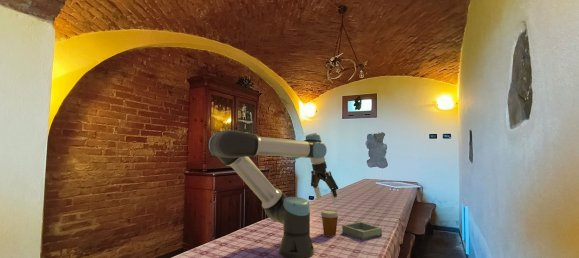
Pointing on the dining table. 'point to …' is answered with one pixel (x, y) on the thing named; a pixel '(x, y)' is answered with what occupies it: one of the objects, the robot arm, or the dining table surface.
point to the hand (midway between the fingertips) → (327, 200)
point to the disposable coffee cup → (329, 222)
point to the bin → (362, 230)
